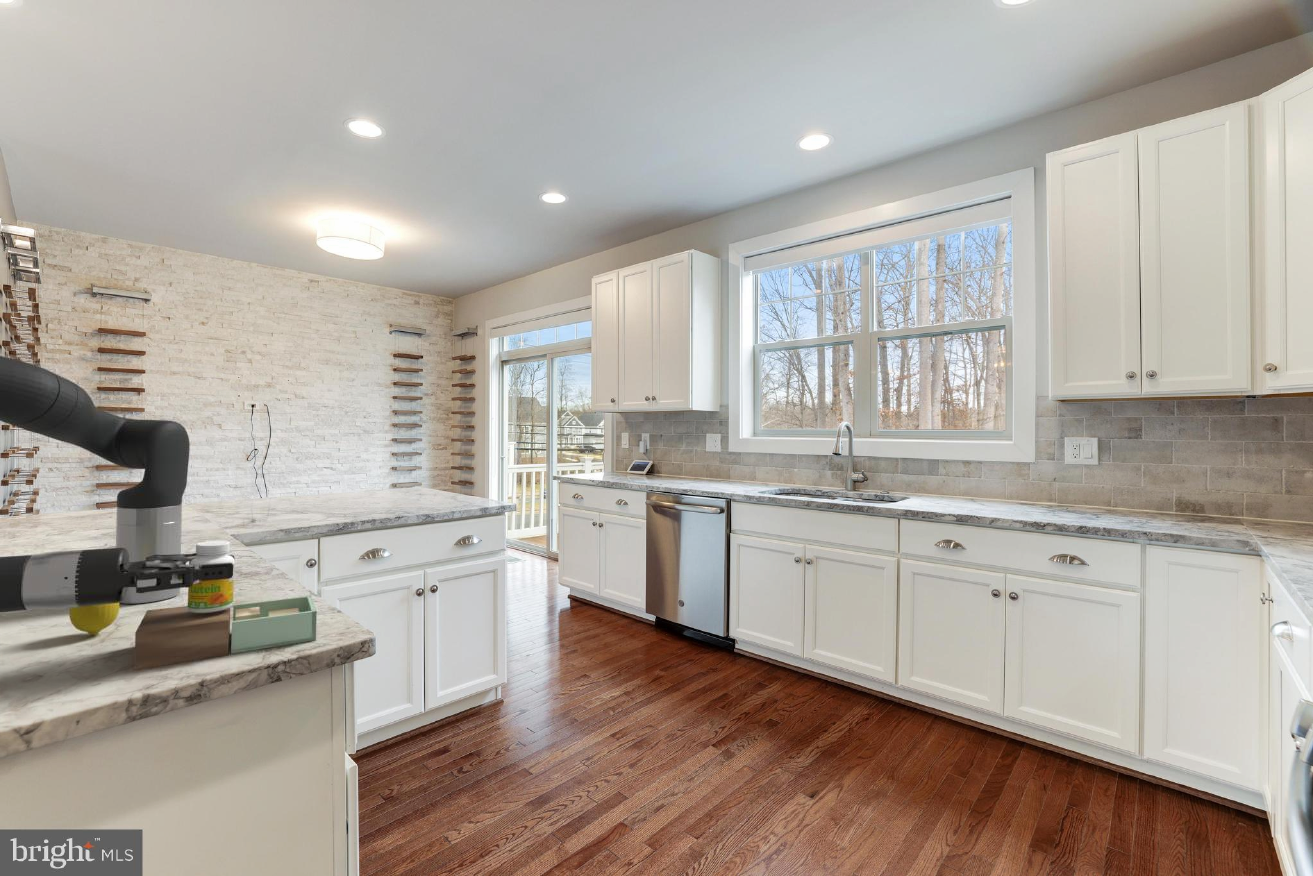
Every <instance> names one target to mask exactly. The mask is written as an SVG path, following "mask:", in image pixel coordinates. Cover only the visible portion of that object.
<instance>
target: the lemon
mask: <svg viewBox="0 0 1313 876" xmlns="http://www.w3.org/2000/svg"><path fill="white" fill-rule="evenodd" d="M119 611H120V603H112V604H102V605H92V606H82V607H71V608H69V612H68V613H69V614H68V615H69V620H70V621H71V625H72V626H73V627H74V628H75V629H77V630H79V631H80V632H85V633H88V634H89V635H91V636H96V635H98V634H99V633H100V632H101V631H103V630H104V629H106V628H108V627H110V626H111V625H112V624H113V623H114V622H115V620H116V619H117V617H118V615H119Z"/></svg>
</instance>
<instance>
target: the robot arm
mask: <svg viewBox="0 0 1313 876" xmlns="http://www.w3.org/2000/svg"><path fill="white" fill-rule="evenodd" d="M93 401H94V400H92V397H91V396H90V395H89V393H88V392H87V391H86V390H85V389H84V388H83V387H81V386H79V385H78V384H77V383H75V382H73V381H72V380H70V379H68V378H66V377H63V376H61V375H60V374H57V373H55V372H52V371H51V370H48V369H46V368H44V367H41V366H38V365H36V364H33V363H30V362H26V361H22V360H19V359H18V360H17V359H14V358H10V357H6V356H4V355H3V356H2V355H0V422H2V423H6V424H9V425H11V426H14V427H17V428H19V429H22V430H26V431H28V432H32V433H34V434H38V435H42V436H45V437H48V438H51V439H53V440H57V441H60V442H62V443H67V444H70V445H74V446H76V447H78V448H81V449H83V450H86V451H87V452H89V453H92V454H94V455H96V456H98V457H100V458H102V459H104V460H105V461H107V462H110V463H112V464H114V465H116V466H118V467H119V466H120V467H123V468H126V469H127V468H128V469H134V470H137V469H140V470H144V473H143V477H142V480H141V481H140V482H138V483H137V484H136V485H134V486H130V487H128V488H125V489H122V490H120V491H119V492H118V493H117V496H116V527H115V528H116V530H115V531H116V534H115V535H116V536H115V547H111V548H109V547H108V548H94V549H93V548H91V549H76V550H75V549H73V550H59V551H52V552H45V553H39V554H37V553H36V554H27V555H26V554H25V555H13V556H12V555H9V556H0V613H9V612H10V613H11V612H20V611H21V612H22V611H27V610H29V611H30V610H32V611H33V610H58V609H59V610H60V609H70V608H71V607H82V606H92V605H102V604H112V603H119V604H127V605H128V604H131V605H132V604H143V603H151V602H158V601H163V600H167V599H171V598H173V597H176V596H179V594H180V593H181V589H183V588H187V589H188V587H191V586H193V584H197V583H199V582H200V580H201V581H208V580H219V579H229V578H232V576H233V564H232V563H218V564H205V565H202V566H201V568H200V565H197V564H194V565H190V562H191V561H192V560H193V559H194V558H197V557H198V554H196V552H193V553H182V516H183V515H182V512H183V510H182V509H183V508H182V507H183V506H182V505H183V504H182V503H183V495H184V494H185V491H186V487H187V485H188V471H189V463H190V449H191V447H190V438H189V434H188V431H187V430H186V428H185V427H184V426H183V425H182V424H181V423H180V422H177V421H174V420H162V419H136V418H126V417H122V416H118V415H116V414H113V413H111V412H108V411H105V410H103V409H100V408H98V407H97V406H95V404H94V402H93ZM228 555H229V556H232V557H233V558H234V560H235V558H236V557H235V555H233V554H228ZM235 561H236V560H235ZM187 563H188V564H187Z"/></svg>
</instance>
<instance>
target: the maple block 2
mask: <svg viewBox="0 0 1313 876" xmlns="http://www.w3.org/2000/svg"><path fill="white" fill-rule="evenodd" d="M291 613H299V610H298V608H294V609H286V610H278V611H270V612H268V617H269V616H276V615H284V614H291Z"/></svg>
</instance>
